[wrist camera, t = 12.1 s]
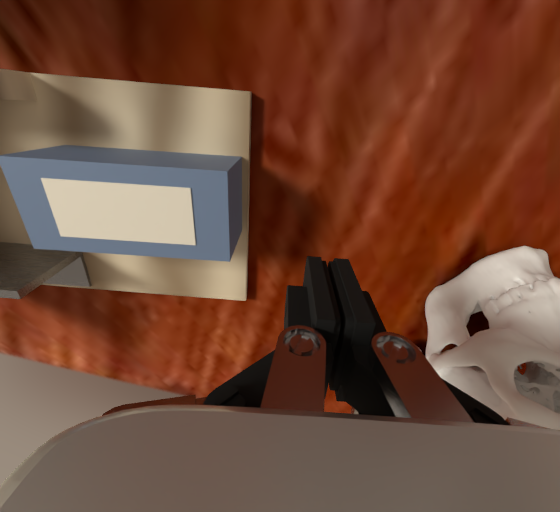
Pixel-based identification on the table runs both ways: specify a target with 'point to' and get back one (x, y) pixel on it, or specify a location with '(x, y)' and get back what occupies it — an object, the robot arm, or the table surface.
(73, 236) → the boxed book
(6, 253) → the bookend
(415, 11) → the table surface
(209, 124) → the shelf
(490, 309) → the skull planter
